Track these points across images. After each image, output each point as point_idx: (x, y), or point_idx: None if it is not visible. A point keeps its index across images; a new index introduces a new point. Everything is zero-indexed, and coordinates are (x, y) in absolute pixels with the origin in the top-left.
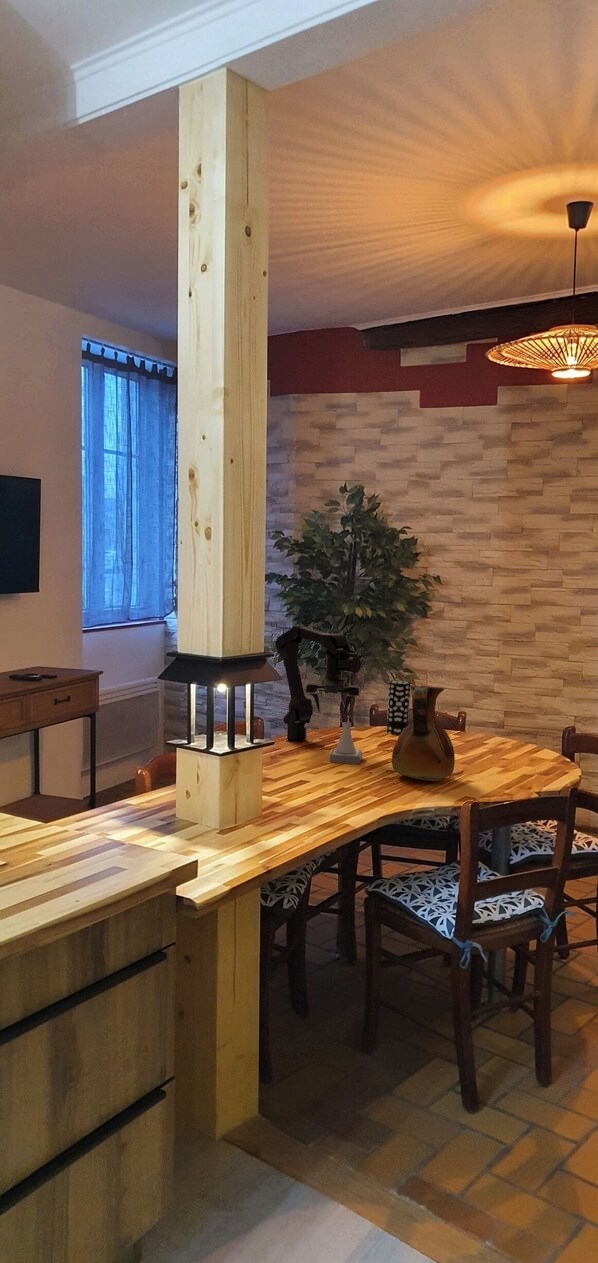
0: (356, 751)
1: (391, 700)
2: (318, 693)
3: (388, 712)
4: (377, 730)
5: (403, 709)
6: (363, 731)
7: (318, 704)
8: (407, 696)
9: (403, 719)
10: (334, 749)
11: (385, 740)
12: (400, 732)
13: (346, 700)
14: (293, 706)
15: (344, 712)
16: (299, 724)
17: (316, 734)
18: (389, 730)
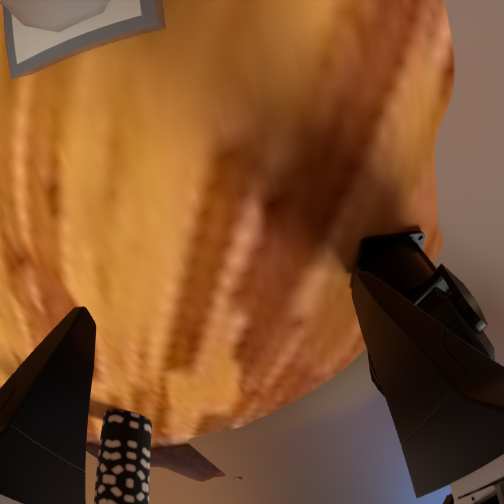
0: (24, 32)
1: (129, 489)
2: (466, 468)
3: (140, 461)
4: (174, 424)
5: (100, 466)
6: (199, 413)
7: (412, 327)
8: (95, 495)
9: (102, 443)
10: (143, 3)
11: (101, 367)
12: (109, 415)
13: (4, 426)
14: (486, 343)
15: (76, 316)
16: (409, 298)
17: (318, 354)
18: (135, 420)
